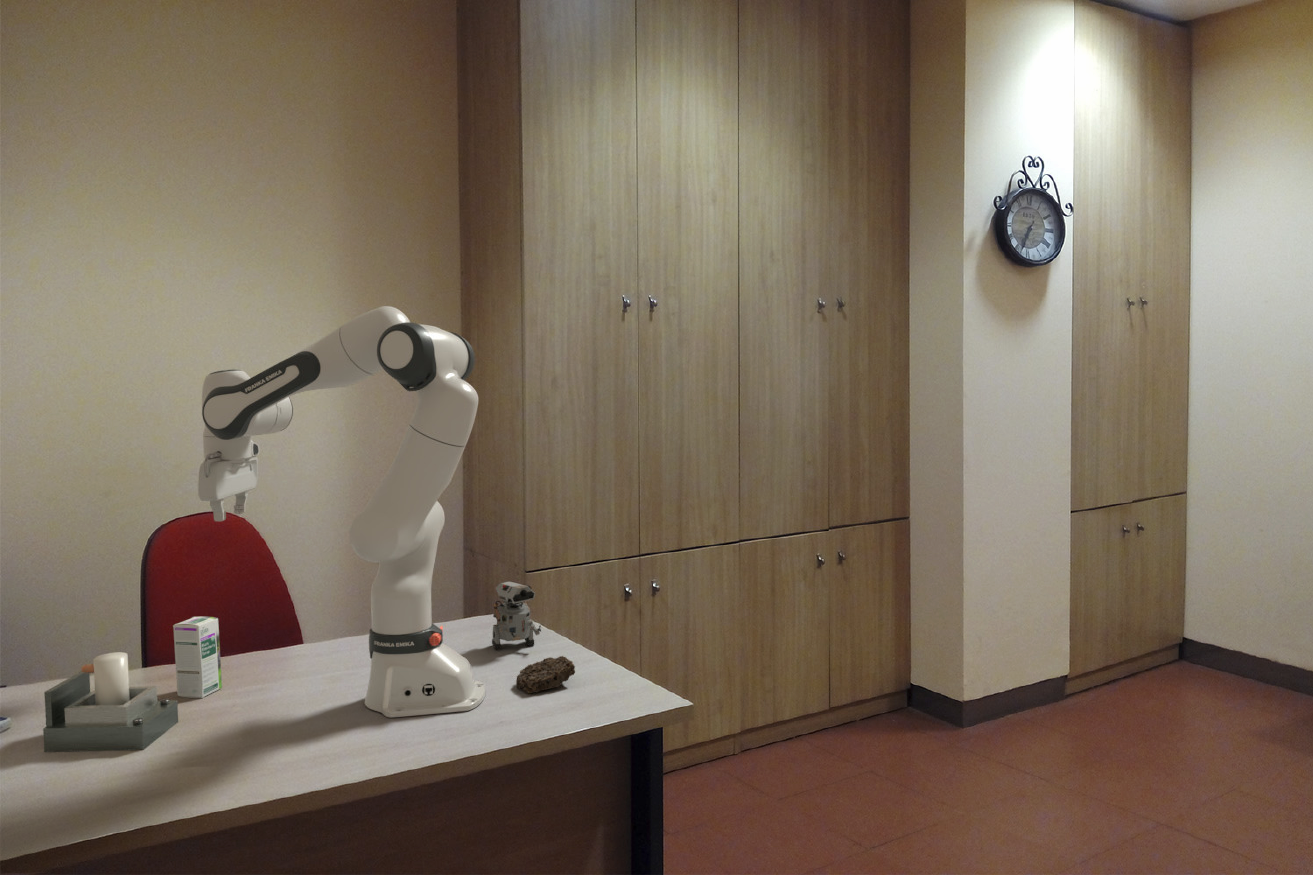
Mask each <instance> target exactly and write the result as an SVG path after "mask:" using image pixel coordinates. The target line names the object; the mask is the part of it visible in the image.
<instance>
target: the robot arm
mask: <svg viewBox="0 0 1313 875" xmlns="http://www.w3.org/2000/svg"><path fill="white" fill-rule="evenodd" d="M475 355H476V354H475V352H474V349H473V346H472V345H471V344H470V343H469V341H468V340H467V339H465V338H464V337H463V336H461V335H460V334H457V333H455V332H452V331H447V330H444V329H441V328H440V327H437V326H434V325H430V324H429V325H428V324H422V323H416V322H411V320H410V319H409V318H408V316H407V315H406V314H405V313H404V312H402V311H401V310H400V309H398V308H396V307H395V306H394V307H393V306H389V305H383V306H379V307H376V308H374V309H372V310H369V311H366V312H364V313H362V314H359V315H357V316H356V317H354V318H352V319H350V320H349V321H347V322H346V323H344V324H342V325H341V326H339V327H337V328H336V329H334V330H333V331H331V332H330V333H328V334H327V335H325V336H323V337H322V338H320V339H319V340H317V341H316V342H313V343H312V344H311V345H309V346H308V347H306V348H304V349H302V350H300V351H298V352H297V353H295V354H293V355H291V356H290V357H287V358H286V359H284V360H282V361H279V362H278V363H276V364H274V365H272V366H271V367H269V368H266V369H265V370H263V371H261V372H259V373H257V374H256V375H254V376H252V377H250V375H249V374H248V373H247V372H245V371H244V370H241V369H225V370H217V371H213V372H210V373H208V374H207V375H206V376H205V377H204V380H203V384H202V390H201V393H202V394H201V415H202V420H203V423H204V430H203V432H202V439H203V440H202V444H203V446H202V447H203V459H204V460H203V462H202V463H201V464H200V466H199V468H198V469H199V471H198V483H197V484H198V485H197V486H198V487H197V490H198V492H197V493H198V497H199V499H200V501H201V502H209V506H210V508H211V510H212V511H211V512H213V513H212V514H213V520H214V522H223V521H225V520H226V519H227V512H226V511H225V510H224V506H223V505H224V504H225V500H224V499H226V498H230V497H233V496H235V503H234V505H233V513H234V515H235V514H236V515H241V514H244V513H246V504H247V500H248V496H249V492H248V491H251V490H254V489H256V488H257V486H258V485H257V484H258V481H259V459H258V457H257V456H259V455H260V448H261V447H260V445H259V444H258V443H256V442H255V441H253V439H252V437H253V436H254V437H255V436H261V435H271V434H276V433H278V432H282V431H284V430H285V429H287V428H288V427H289V425H290V424H291V422H292V419H293V416H294V408H293V407H294V406H293V402H292V400H291V398H290V397H293V396H294V395H296V394H300V393H304V392H307V391H308V392H309V391H315V390H324V389H325V390H326V389H337V388H338V389H339V388H347V387H350V386H353V385H355V384H359V383H361V382H364V381H367V380H369V379H370V378H371V377H374V376H375V375H377V374H378V373H380V372H382V371H385V372H386V373H387V374H388V375H389V376H390V377H392V378H393V379H394V380H395V381H397V382H398V384H400V385H401V386H402V387H403V389H404V390H406V391H407V392H416V394H417V402H416V405H415V406H416V407H415V410H414V412H413V415H412V417H411V419H410V421H409V424H408V426H407V428H406V431H405V432H404V436H403V437H402V440H401V443H400V445H399V448H398V450H397V453H396V455H395V456H394V458H393V461H392V463H391V464H390V466H389V468H388V470H387V471H386V473H385V475H384V476H383V477H382V479H381V481H380V482H379V484H378V485H377V487H376V489H375V490H374V492H373V494H372V495H371V497H370V498H369V500H368V502H367V503H366V504H365V506H364V507H363V509H362V510H361V511H360V512H359V513H358V514H357V515H356V516H355V518H353V520H352V522H351V524H350V527H349V530H348V539H349V544H350V548H352V550H353V552H354V553H355V554H356V555H357V556H358V557H359V558H360V559H362V560H364V561H366V562H369V563H379V564H378V565H379V566H378V568H377V572H376V576H375V578H374V580H373V582H372V584H371V587H370V611H371V613H370V614H371V615H370V616H371V617H370V618H371V628H370V629H369V631H368V632H369V635H368V653H369V659H370V660H371V661H370V672H369V679H368V686H367V691H366V696H365V699H364V702H363V703H364V705H365V707H366V708H368V709H370V710H372V711H375V712H379V713H382V715H383V716H385V717H387V718H400V717H401V718H402V717H412V716H425V715H433V714H435V715H436V714H444V713H445V714H446V713H455V712H456V713H457V712H467V711H471V710H473V709H475V708H476V707H478V706H479V705H480V704H481V703H483V701H484V699H485V696H486V692H487V691H486V685H485V684H484V683H483V682H481V681H479V680H474V673H473V669H472V665H471V664H470V662H469V660H468V659H467V658H466V657H464V656H462V655H461V654H459V653H458V652H456V651H455V650H454V649H453V648H451V647H449V646H448V645H446V644H444V643H443V640H444V639H443V638H444V637H443V636H444V635H443V632H444V627H443V625H441V626H440V627H438V626H437V625H435V624H434V623H433V622H432V621H433V620H432V583H433V573H434V567H435V561H436V557H437V550H438V545H439V544H438V543H439V539H440V536H441V533H442V531H443V528H444V526H445V522H446V521H445V519H446V518H445V510H444V509H443V507H442V505H441V504H440V502H439V501H438V499H439V498H440V497H441V495H442V494H443V492H444V491H445V490H446V488H447V487H448V486H449V485H450V483H451V482H452V479H453V477H454V474H455V472H456V470H457V467H458V466H459V463H460V460H461V458H462V455H463V453H464V450H465V448H466V445H467V444H468V441H469V438H470V436H471V432H472V430H473V426H474V424H475V420H476V417H477V412H478V406H479V395H478V392H477V391H476V389H475V388H474V387H473V386H472V385H471V384H470V383H469V382H468V381H466V380H467V379H468V378H469V377H470V376H471V374H472V373H473V371H474V368H475V363H476V356H475Z"/></svg>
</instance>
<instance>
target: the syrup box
mask: <svg viewBox="0 0 1313 875" xmlns="http://www.w3.org/2000/svg"><path fill="white" fill-rule="evenodd" d="M172 628H173V640H174V659H175V660H174V661H175V675H176V691H177V696H178V697H181V698H191V699H205V697H206V696H208V695H210V694H213V693H214V692H216V691H218V690H221V689H222V688H223V682H222V666H221V665H222V662H221V646H220V645H221V644H220V630H219V629H220V628H219V618H218V617H214V616H192V617H191V618H189V619H186V620H183V621H180V622H178V623H175V624H173V625H172Z"/></svg>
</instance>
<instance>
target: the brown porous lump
mask: <svg viewBox="0 0 1313 875" xmlns="http://www.w3.org/2000/svg"><path fill="white" fill-rule="evenodd" d="M575 668H576V665H575V664H574V662H573V661H572V660H570V659H569V658H567V657H566V656H564V655H561V656H560V655H559V656H558V657H556V658H555V657H546V658H543V660H541V661H536V662H534V663H533V664H528V665H526V666H525V667H524V668H523V669H521V670H520V671H519V674H517V676H516V680H515V682H516V683H515V685H516V688H518V689H519V690H521V691H522V692H524V694H527V693H528V694H532V693H539V692H541V691H544V690H549V689H554V688H559V687H560V686H561V685H562V684H563V682H567V681H569V678H570V677H571V676H574V675H575V673H576V671H575Z"/></svg>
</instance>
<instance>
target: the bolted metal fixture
mask: <svg viewBox="0 0 1313 875" xmlns="http://www.w3.org/2000/svg"><path fill="white" fill-rule="evenodd" d="M90 677H91V676H90V673H83V672H82V671H78V673H76V674H74V675H72V676H70V677H68V678H67V679H64V681H62V682H59V683H58V684H56V685H55V686H53V687H51V688H49V689H47V690H46V691H44V708H45V710H44V711H45V727H43V729H42V731H43V732H42V733H43V751H44V753H56V752H58V753H60V752H61V753H62V752H64V753H65V752H67V753H68V752H69V753H70V752H103V751H104V752H105V751H107V752H109V751H111V752H112V751H115V752H116V751H144V750H145V749H146V748H148V747H149V746H150V745H151V744H152V743H154V742H155V741H156V740H158V739H159V738H160V737H161V736H162V735H164V734H165V733H166V732H168V731H169V730H170V729H171V728H172V727H174V726H175V725H177V724H178V723H179V708H178V700H177V699H172V700H171V699H169V698H163V699H160V700H158V690H157V689H158V688H157V685H155V686H153V685H148V686H144V685H143V686H129V698H130V701H128V702H127V703H125V704H124V705H96V701H95V689H93V690H92V691H91V682H90V679H91V678H90Z"/></svg>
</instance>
